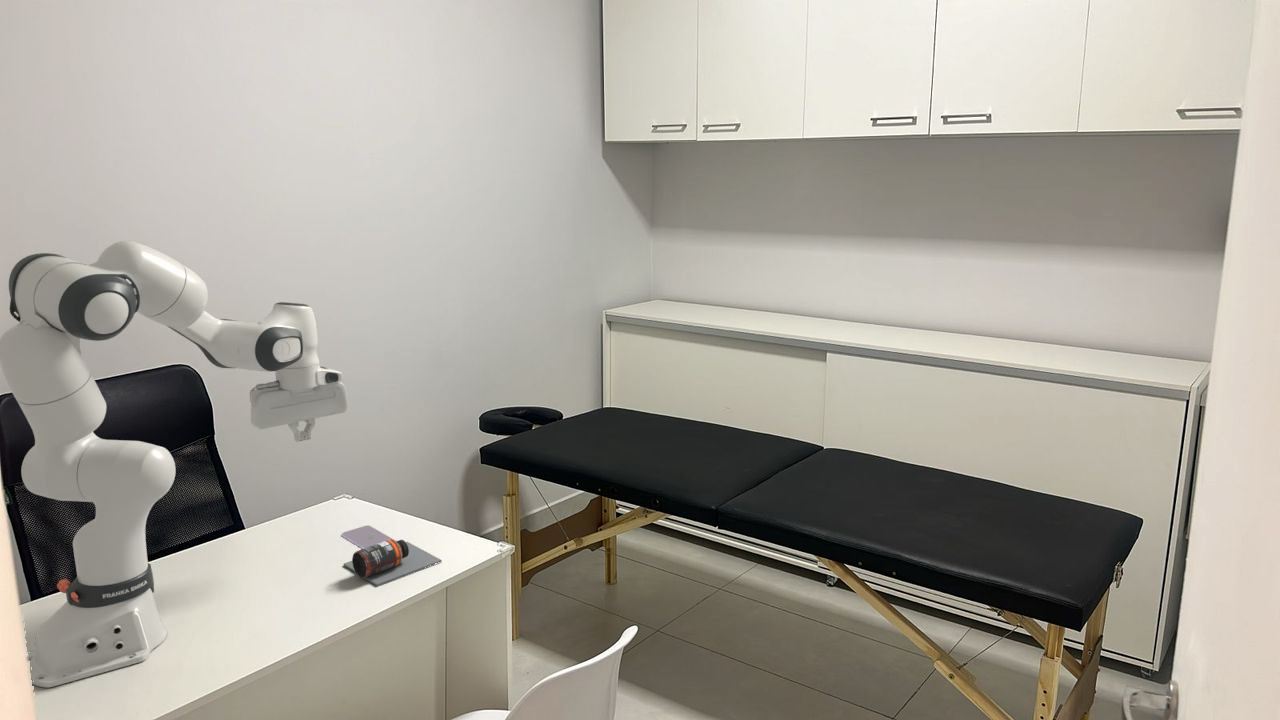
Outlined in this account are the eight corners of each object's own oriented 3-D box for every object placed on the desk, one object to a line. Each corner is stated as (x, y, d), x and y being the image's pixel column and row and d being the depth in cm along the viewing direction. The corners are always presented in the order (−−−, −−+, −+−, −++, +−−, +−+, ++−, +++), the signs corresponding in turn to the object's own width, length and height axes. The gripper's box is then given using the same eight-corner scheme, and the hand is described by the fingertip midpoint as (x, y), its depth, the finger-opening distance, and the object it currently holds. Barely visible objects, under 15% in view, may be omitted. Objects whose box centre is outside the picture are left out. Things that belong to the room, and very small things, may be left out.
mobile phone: (368, 523, 215) (401, 541, 205) (368, 527, 215) (401, 545, 205) (339, 532, 210) (371, 551, 199) (339, 536, 210) (371, 555, 200)
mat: (377, 586, 185) (377, 584, 184) (343, 565, 194) (343, 563, 194) (441, 562, 196) (441, 560, 196) (407, 543, 205) (407, 541, 205)
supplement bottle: (355, 579, 188) (400, 562, 197) (369, 578, 184) (414, 560, 193) (348, 552, 189) (393, 536, 197) (361, 550, 185) (407, 534, 193)
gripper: (255, 388, 177) (261, 454, 180) (349, 372, 192) (353, 433, 195) (242, 383, 182) (248, 447, 184) (335, 367, 196) (339, 427, 199)
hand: (302, 440), depth 190 cm, fingers closed
